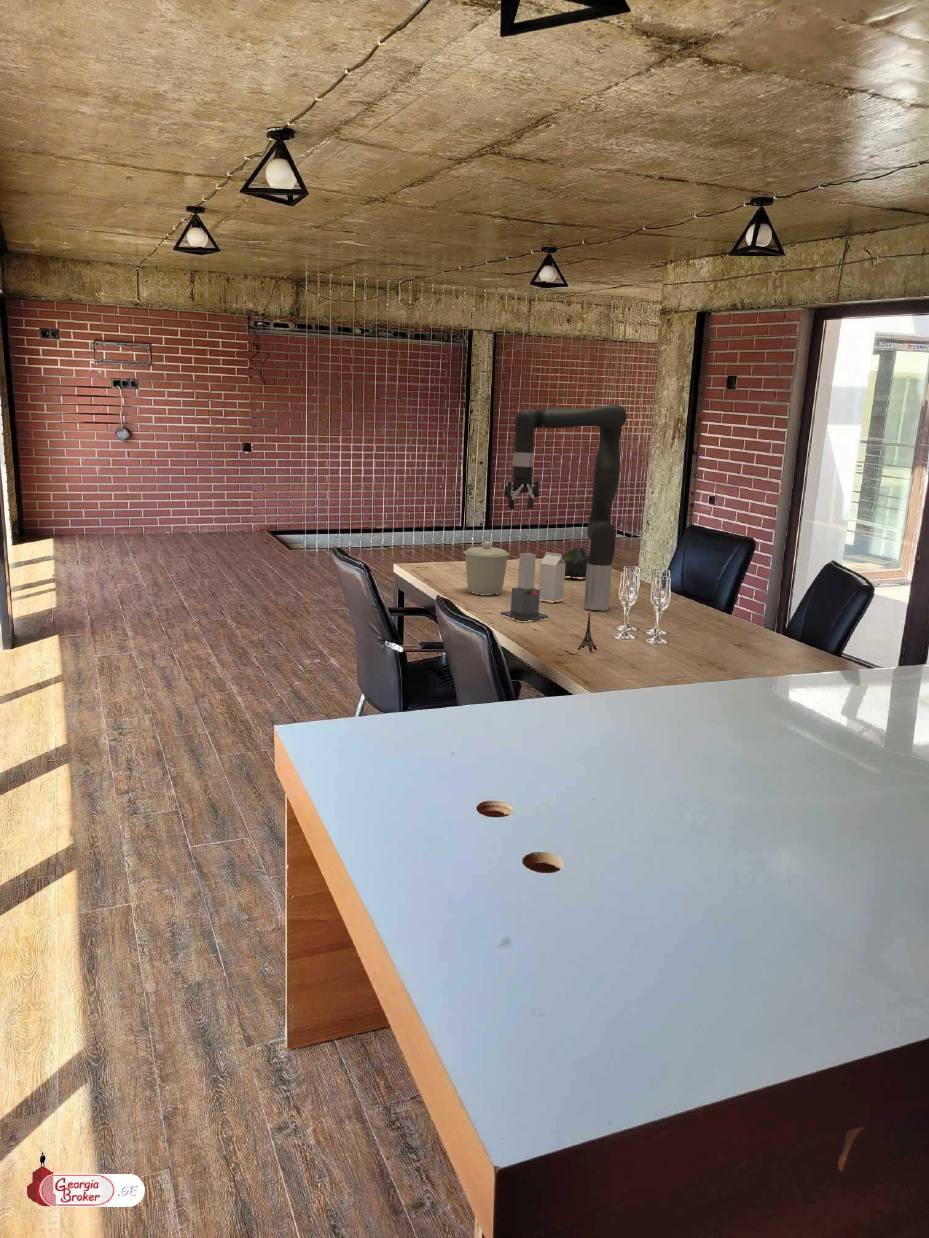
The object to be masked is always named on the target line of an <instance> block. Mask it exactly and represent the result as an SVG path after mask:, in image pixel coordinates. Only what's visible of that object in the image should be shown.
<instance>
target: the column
mask: <svg viewBox="0 0 929 1238" xmlns="http://www.w3.org/2000/svg"><path fill="white" fill-rule="evenodd" d="M536 558H537V557H536V554H535V553H532V552H523V553H522V552H521V553H519V558H518V559H519V560H518V577H517V578H518V580H517V587H518V589H521V590H524V591H525V590H534V588H535V576H536V575H535V574H536V573H535V572H536Z"/></svg>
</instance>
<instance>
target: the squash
mask: <svg viewBox="0 0 929 1238" xmlns="http://www.w3.org/2000/svg"><path fill="white" fill-rule="evenodd" d="M588 555H589V554H587V552H586V551H585V549H584V548H583V547H576V548H574V549H572V550H569V551H566V552H565V553H563V554H562V558H563V560H564V562H565V563H566V565H565V576H571V577H586V571H587V557H588Z"/></svg>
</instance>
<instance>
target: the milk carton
mask: <svg viewBox="0 0 929 1238" xmlns="http://www.w3.org/2000/svg"><path fill="white" fill-rule="evenodd" d="M562 555H563V554H562V553H556V552H549V551H545V555H544V556H543V558H542V560H541V561H540V565H539V578H538V579H539V581H538V590H540V595H539V599H543V600H551V601H556V600H560V599H563V600H564V596H565V595H564V594H565V582H566V581H565V580H566V579H565V565H566V563H565V562H564V560H563V558H562Z"/></svg>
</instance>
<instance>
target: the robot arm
mask: <svg viewBox="0 0 929 1238" xmlns="http://www.w3.org/2000/svg"><path fill="white" fill-rule="evenodd" d="M627 414H628V413H627V412H626V410H625V408H624V407H623V406H622V405H621V404H618V403H609V404H606V405H604V406H600V407H593V408H567V407H565V408H564V407H562V408H561V407H559V408H558V407H557V408H555V407H554V408H552V407H551V408H546V409H545V408H543V409H531V408H530V409H528V408H526V409H525V408H524V409H520V410H519V411H518V412H517V413H516V416H515V426H514V427H515V429H514V431H515V439H514V447H513V457H512V467H511V468H512V470H511V471H512V472H511V473H512V474H511V477H512V481H508V480H505V482H504V492H503V497H504V498H506V499H507V501H508V503H507V508H508V510H510V511H514V510H515V498H516V497H517V496H518V495H519V494H525V495H526V497H527V504H526V505H527V508H526V509H527V510H533V509H534V502H535V500H534V499H536V498H539V494H540V493H539V486H540V485H539V481H537V480H532V479H533V477H534V476H533V475H534V436H535V435H534V433H535V429H567V428H578V427H596V428H599V441H598V442H599V443H598V448H597V452H596V457H595V465H594V471H593V472H594V473H593V480H592V481H593V484H592V499H591V500H592V502H591V503H592V504H591V510H590V516H589V521H588V524H587V525H588V526H587V531H586V533H587V537H588V539H589V541H590V546H589V547H590V548H589V554H587V555H588V557H587V571H586V578H585V586H584V587H585V591H584V601H583V608H584V607H585V608H589V609H592V610H608V609H609V610H610V600H611V585H612V584H611V581H612V568H613V567H612V566H613V560H614V557H615V550H616V543H617V541H616V540H617V531H616V528H615V527H614V525H613V524H612V523H611V513H612V506H613V502H614V500H615V497H616V494H617V491H618V488H619V481H620V472H621V454H620V453H621V452H620V441H621V440H620V439H621V432H622V429H623V426H624V425H625V423H626V421H627V418H628V417H627ZM585 608H584V609H585ZM609 610H608V611H609Z"/></svg>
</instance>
